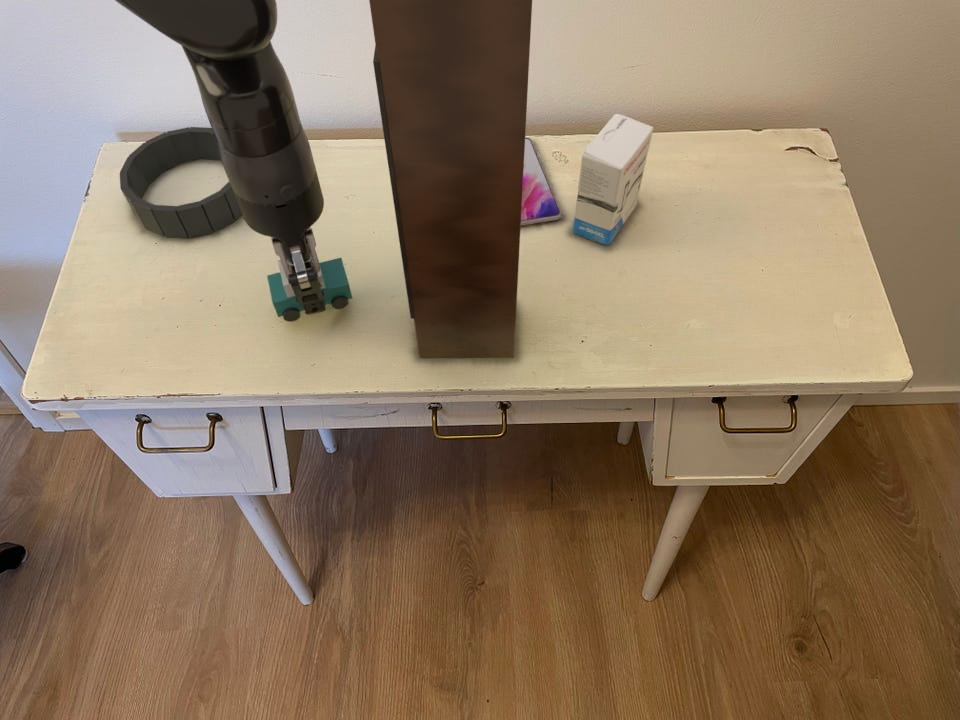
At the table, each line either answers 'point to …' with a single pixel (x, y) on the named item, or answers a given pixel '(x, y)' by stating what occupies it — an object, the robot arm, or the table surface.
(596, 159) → the ink box
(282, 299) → the toy car
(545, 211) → the smartphone
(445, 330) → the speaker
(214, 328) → the table surface
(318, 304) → the robot arm
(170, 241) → the table surface
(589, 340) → the table surface
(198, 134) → the segmented grey ring
